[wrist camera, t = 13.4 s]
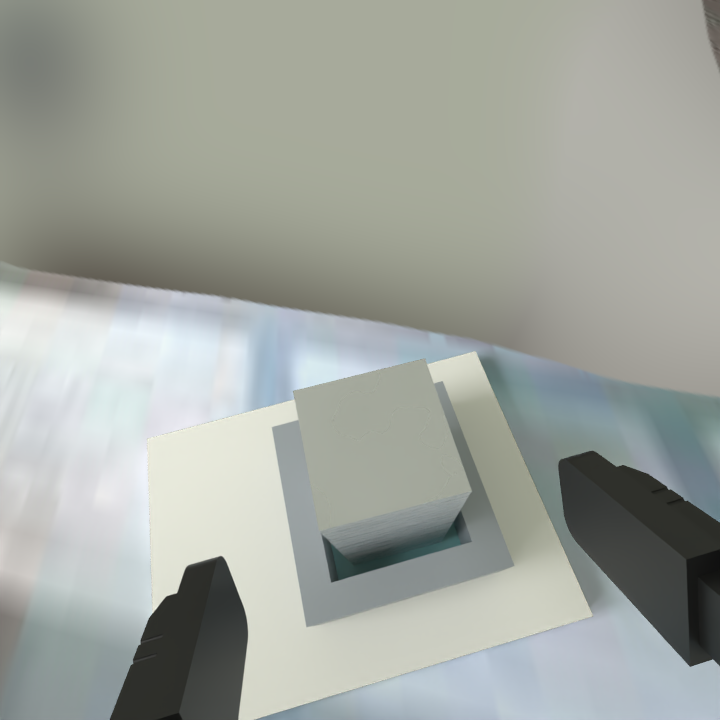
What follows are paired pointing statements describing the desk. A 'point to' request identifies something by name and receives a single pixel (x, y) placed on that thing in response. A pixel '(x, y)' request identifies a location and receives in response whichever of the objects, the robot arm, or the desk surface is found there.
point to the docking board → (335, 572)
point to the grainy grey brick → (381, 461)
